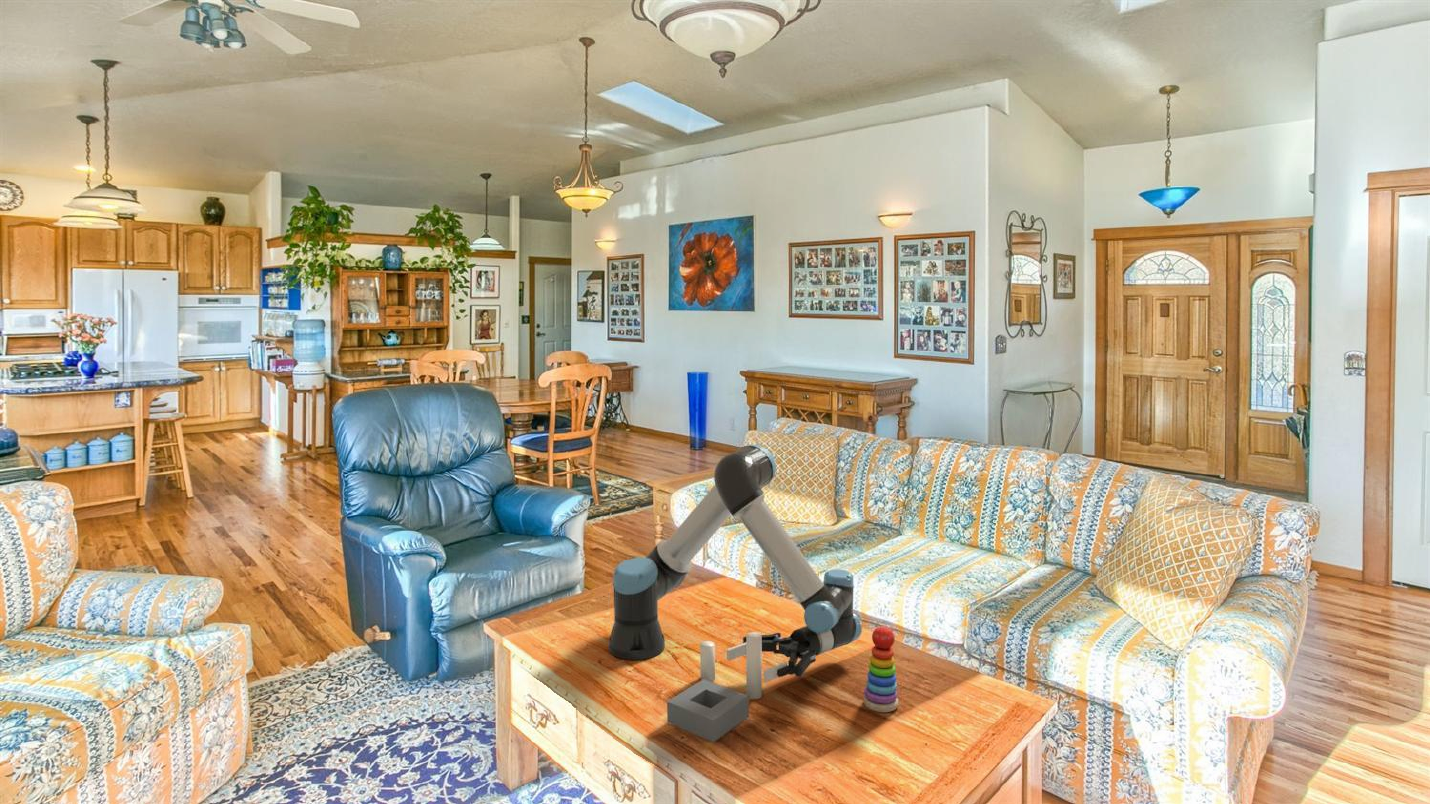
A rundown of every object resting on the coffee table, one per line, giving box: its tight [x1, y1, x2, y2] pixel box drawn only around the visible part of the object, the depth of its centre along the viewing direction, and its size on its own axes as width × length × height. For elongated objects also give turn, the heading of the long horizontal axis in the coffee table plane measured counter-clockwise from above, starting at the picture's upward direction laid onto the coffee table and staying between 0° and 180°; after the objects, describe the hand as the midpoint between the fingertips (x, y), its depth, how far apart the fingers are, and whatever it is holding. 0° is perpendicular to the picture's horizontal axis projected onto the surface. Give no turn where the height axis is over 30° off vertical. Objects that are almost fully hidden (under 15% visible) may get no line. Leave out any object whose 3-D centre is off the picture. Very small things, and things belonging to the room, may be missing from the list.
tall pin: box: [745, 631, 763, 700], centre depth 186 cm, size 4×4×15 cm
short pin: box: [699, 640, 716, 682], centre depth 195 cm, size 4×4×9 cm
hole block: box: [666, 679, 750, 743], centre depth 176 cm, size 13×13×5 cm
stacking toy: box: [863, 625, 900, 713], centre depth 181 cm, size 8×8×19 cm
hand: (745, 665), depth 184 cm, fingers open, 13 cm apart
